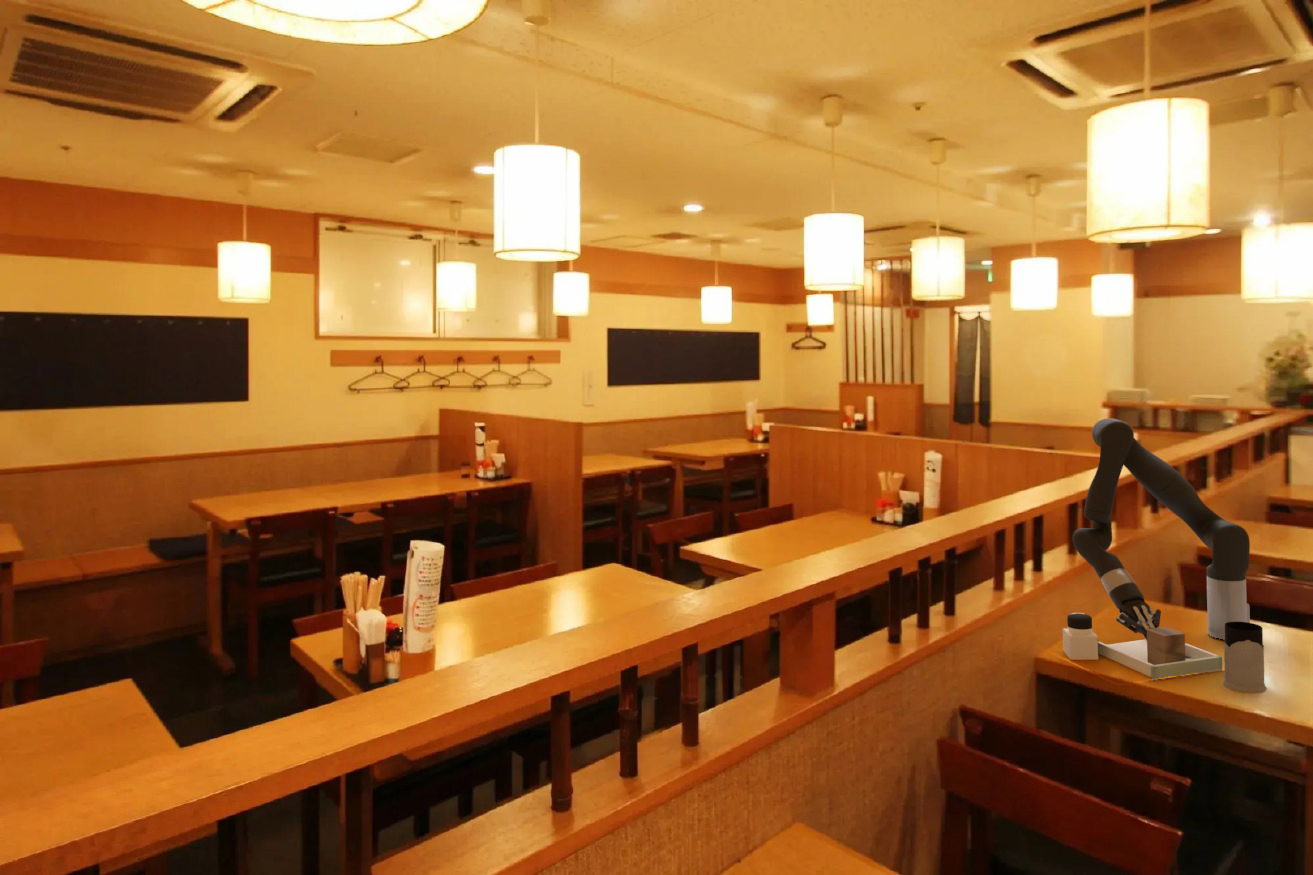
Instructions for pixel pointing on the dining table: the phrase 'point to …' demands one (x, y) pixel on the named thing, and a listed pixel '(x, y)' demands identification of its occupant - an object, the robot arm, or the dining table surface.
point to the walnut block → (1165, 645)
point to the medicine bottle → (1080, 638)
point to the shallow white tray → (1136, 659)
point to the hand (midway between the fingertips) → (1156, 644)
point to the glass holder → (1244, 657)
